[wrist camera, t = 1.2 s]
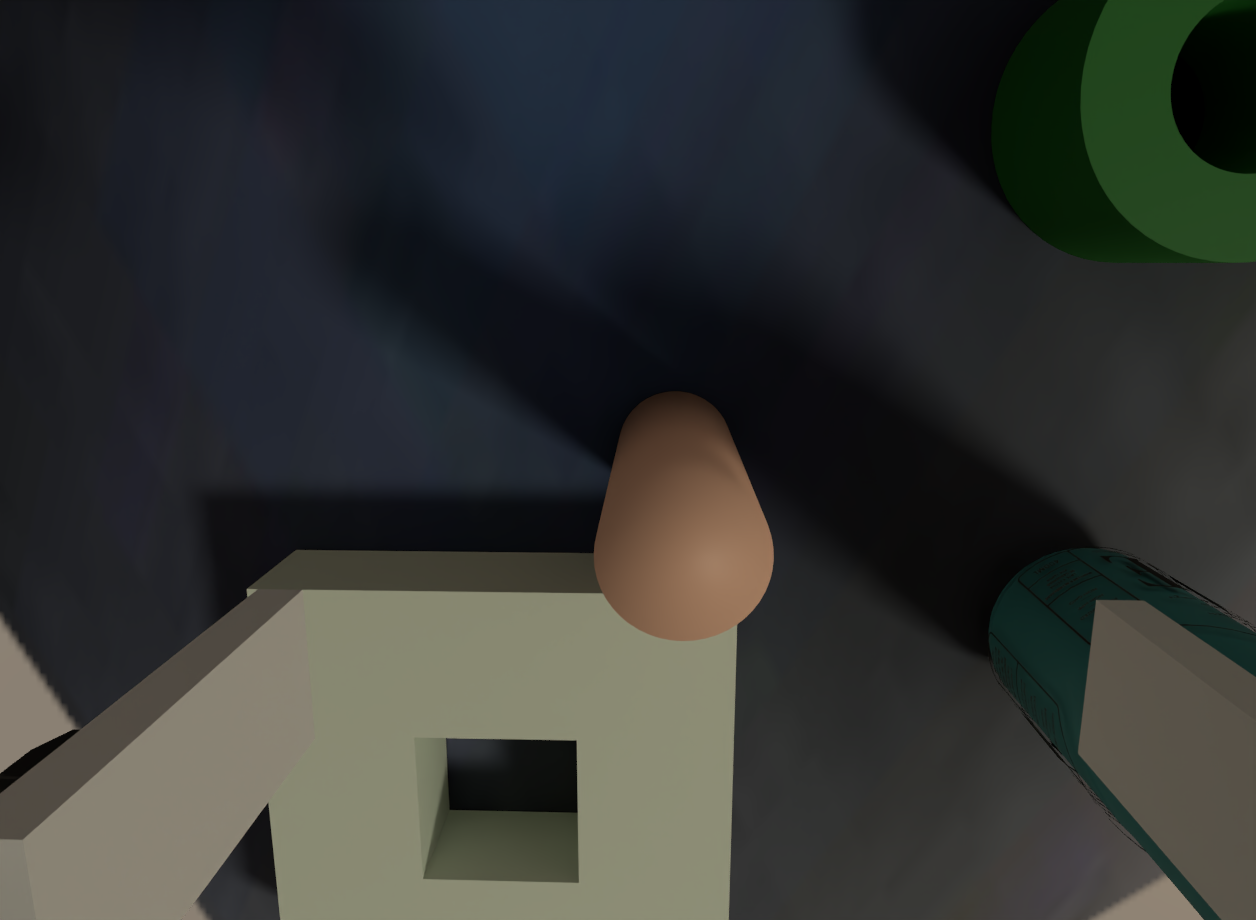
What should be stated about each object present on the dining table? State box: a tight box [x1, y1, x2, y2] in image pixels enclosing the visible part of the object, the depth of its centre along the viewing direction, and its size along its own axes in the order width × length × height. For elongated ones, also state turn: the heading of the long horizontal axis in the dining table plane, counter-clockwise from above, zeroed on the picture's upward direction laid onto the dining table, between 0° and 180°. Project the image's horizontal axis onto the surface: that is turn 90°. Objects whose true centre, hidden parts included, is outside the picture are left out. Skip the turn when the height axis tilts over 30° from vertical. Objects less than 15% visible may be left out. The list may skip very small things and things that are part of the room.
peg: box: [594, 391, 774, 641], centre depth 25 cm, size 4×4×12 cm
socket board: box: [247, 550, 737, 920], centre depth 32 cm, size 16×16×4 cm
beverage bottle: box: [988, 547, 1256, 920], centre depth 22 cm, size 6×7×20 cm
